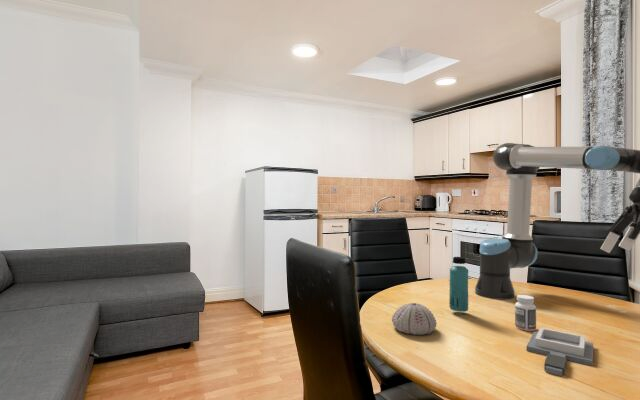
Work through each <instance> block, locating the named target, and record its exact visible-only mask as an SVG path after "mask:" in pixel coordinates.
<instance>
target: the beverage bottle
mask: <svg viewBox="0 0 640 400" xmlns="http://www.w3.org/2000/svg"><path fill="white" fill-rule="evenodd" d="M452 263H453V264H457V265H452V266H451V267H450V268H449V281H448V283H449V286H448V287H449V293H448V294H449V302H448V304H449V305H448V307H449V309H450V310H451V311H455V312H462V313H463V312H468V311H469V296H470V295H469V269H468V268H467V267H466V266H463V265H465V264H466V258H465V257H463V256H453V257H452Z"/></svg>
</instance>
